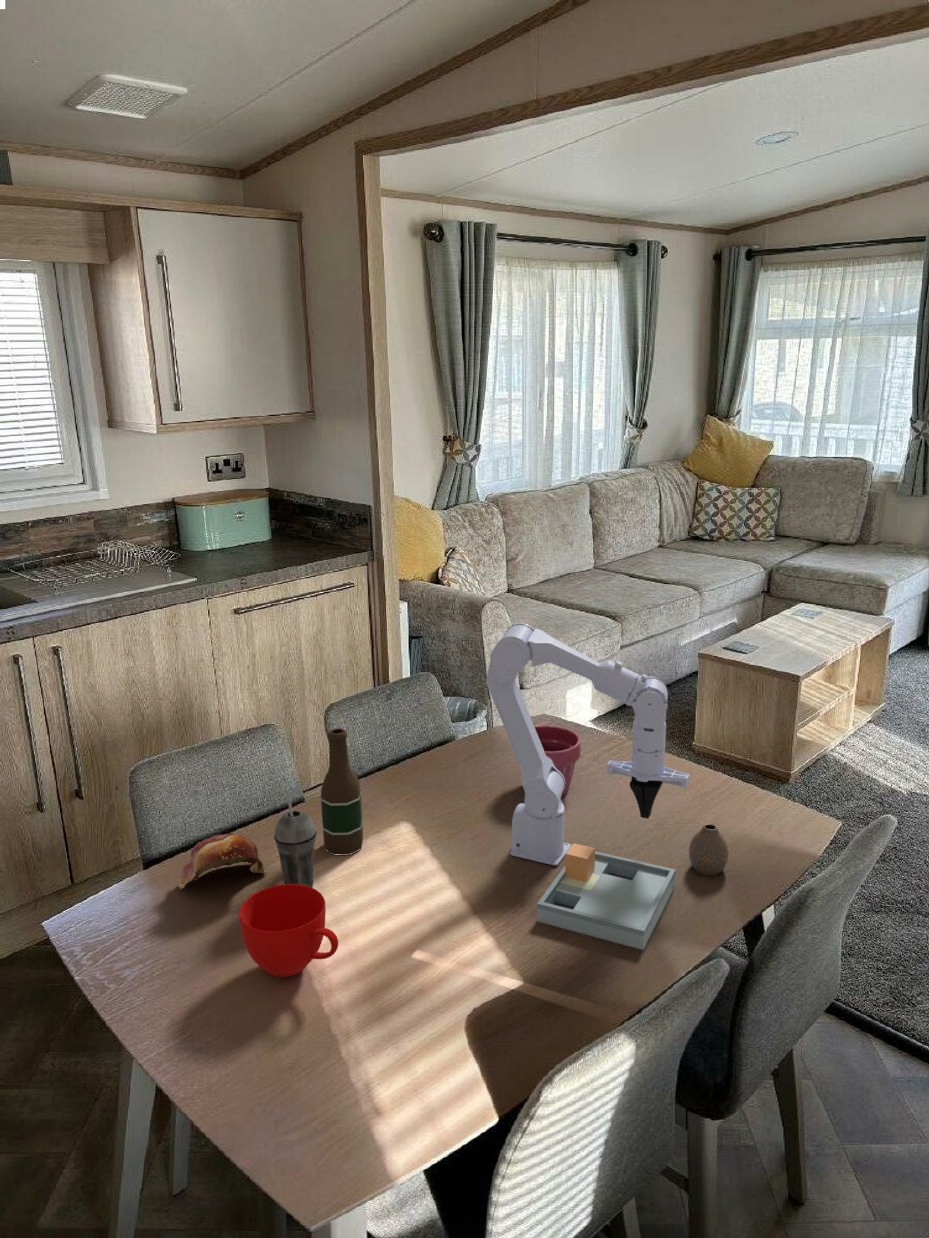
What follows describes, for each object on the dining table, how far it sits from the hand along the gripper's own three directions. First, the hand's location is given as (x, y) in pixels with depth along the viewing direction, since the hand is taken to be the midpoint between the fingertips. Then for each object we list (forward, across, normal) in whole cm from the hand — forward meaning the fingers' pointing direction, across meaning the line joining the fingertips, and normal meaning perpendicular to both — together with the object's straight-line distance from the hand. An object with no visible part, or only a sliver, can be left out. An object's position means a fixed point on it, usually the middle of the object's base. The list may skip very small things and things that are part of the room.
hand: (645, 815), depth 164 cm
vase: (+10, +11, +3) cm, 15 cm away
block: (+7, -8, -12) cm, 16 cm away
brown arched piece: (+10, -66, -38) cm, 77 cm away
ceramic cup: (+10, -40, -52) cm, 66 cm away
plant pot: (+10, -27, +20) cm, 35 cm away
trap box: (+10, -2, -15) cm, 18 cm away
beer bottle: (+10, -54, -18) cm, 58 cm away
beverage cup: (+10, -52, -35) cm, 63 cm away
